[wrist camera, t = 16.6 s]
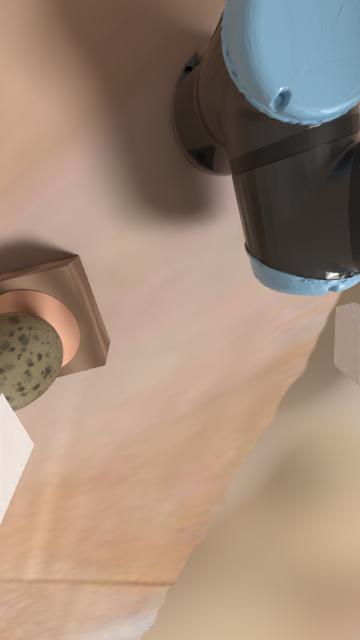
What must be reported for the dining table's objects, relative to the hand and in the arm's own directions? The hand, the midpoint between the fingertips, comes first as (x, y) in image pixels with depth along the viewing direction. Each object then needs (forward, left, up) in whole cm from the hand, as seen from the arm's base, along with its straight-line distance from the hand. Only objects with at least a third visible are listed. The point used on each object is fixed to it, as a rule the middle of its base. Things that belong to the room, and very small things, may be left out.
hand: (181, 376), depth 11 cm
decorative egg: (+19, +7, -28) cm, 35 cm away
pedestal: (+19, +7, -37) cm, 42 cm away
